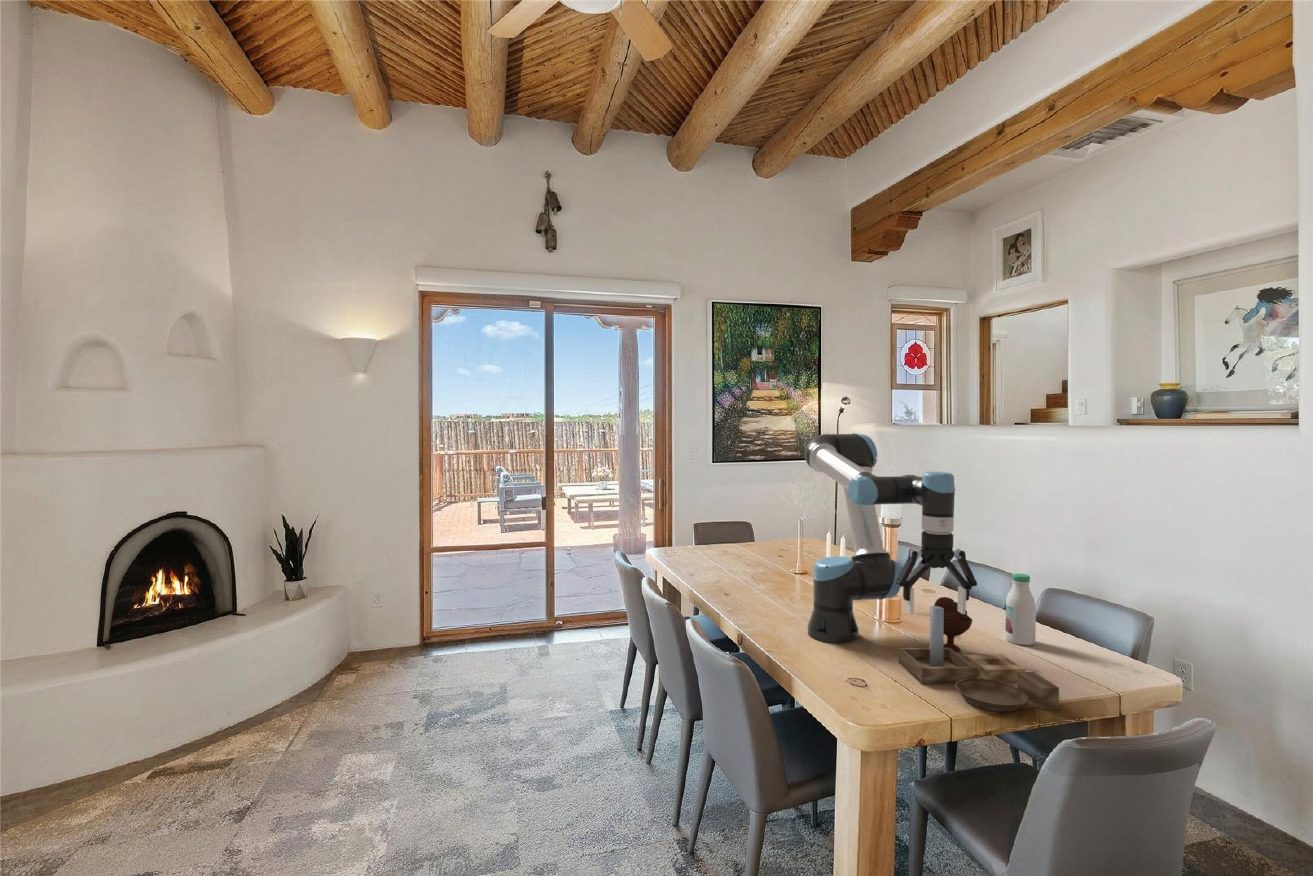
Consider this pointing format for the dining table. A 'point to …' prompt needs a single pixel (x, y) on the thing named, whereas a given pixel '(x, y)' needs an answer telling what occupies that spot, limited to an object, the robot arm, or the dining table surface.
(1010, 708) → the saucer
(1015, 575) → the milk bottle
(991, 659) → the socket block
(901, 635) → the dining table surface
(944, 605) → the ice cream bowl
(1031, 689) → the block
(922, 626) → the dining table surface
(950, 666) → the tray
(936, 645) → the dowel
